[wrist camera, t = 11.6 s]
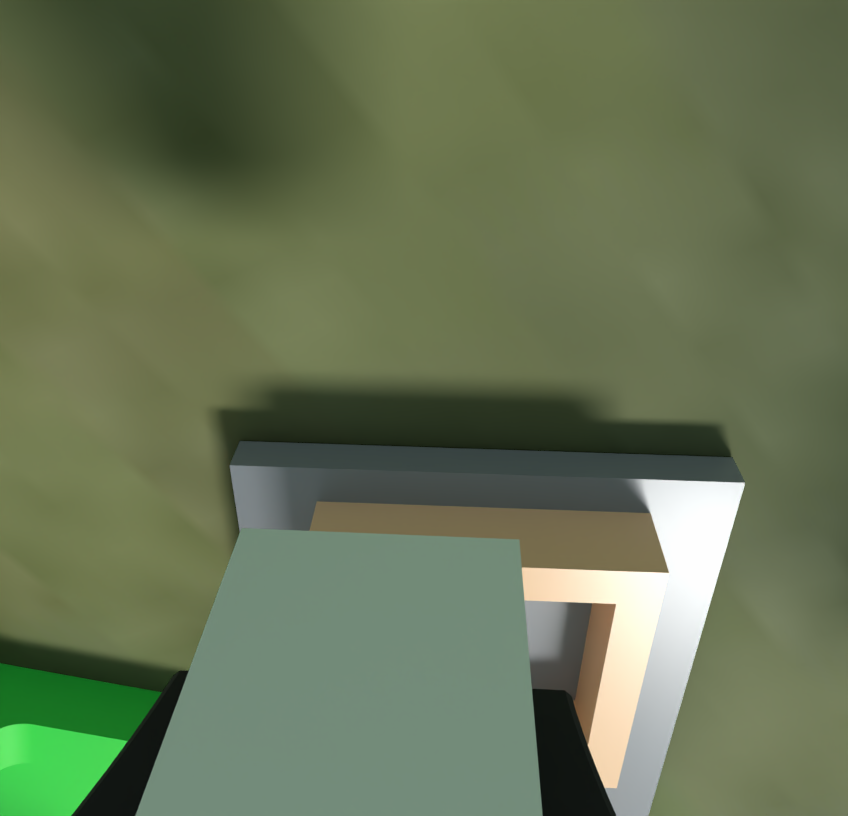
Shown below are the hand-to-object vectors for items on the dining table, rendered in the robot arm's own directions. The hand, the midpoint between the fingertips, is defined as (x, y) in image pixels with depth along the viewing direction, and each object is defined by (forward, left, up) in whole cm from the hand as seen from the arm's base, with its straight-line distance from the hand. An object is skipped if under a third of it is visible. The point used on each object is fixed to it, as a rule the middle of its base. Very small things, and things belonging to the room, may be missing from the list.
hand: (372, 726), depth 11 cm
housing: (-2, +11, -9) cm, 15 cm away
